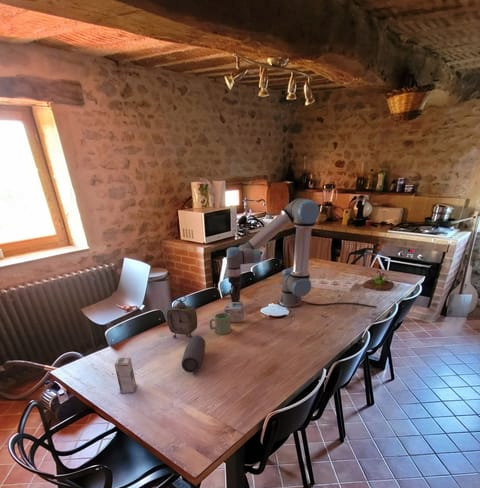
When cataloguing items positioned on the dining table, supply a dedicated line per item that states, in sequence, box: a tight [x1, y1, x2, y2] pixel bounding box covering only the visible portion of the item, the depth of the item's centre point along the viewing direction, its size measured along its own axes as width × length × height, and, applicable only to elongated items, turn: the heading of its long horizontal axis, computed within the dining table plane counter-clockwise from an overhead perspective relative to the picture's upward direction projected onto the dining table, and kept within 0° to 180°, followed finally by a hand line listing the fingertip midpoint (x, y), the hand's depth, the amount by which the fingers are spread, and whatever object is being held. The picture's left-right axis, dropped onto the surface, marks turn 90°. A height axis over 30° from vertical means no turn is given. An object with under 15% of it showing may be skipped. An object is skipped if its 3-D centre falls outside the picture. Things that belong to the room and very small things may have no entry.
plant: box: [363, 270, 395, 292], centre depth 260 cm, size 20×20×11 cm
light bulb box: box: [223, 301, 245, 323], centre depth 215 cm, size 11×7×11 cm, turn 84°
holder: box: [309, 278, 358, 293], centre depth 272 cm, size 45×18×3 cm, turn 59°
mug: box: [208, 312, 232, 335], centre depth 204 cm, size 12×9×10 cm
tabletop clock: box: [166, 293, 198, 340], centre depth 196 cm, size 14×9×25 cm, turn 70°
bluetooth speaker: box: [181, 335, 206, 374], centre depth 173 cm, size 23×9×10 cm, turn 178°
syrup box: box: [114, 356, 137, 394], centre depth 154 cm, size 6×6×14 cm
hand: (236, 312), depth 221 cm, fingers closed
